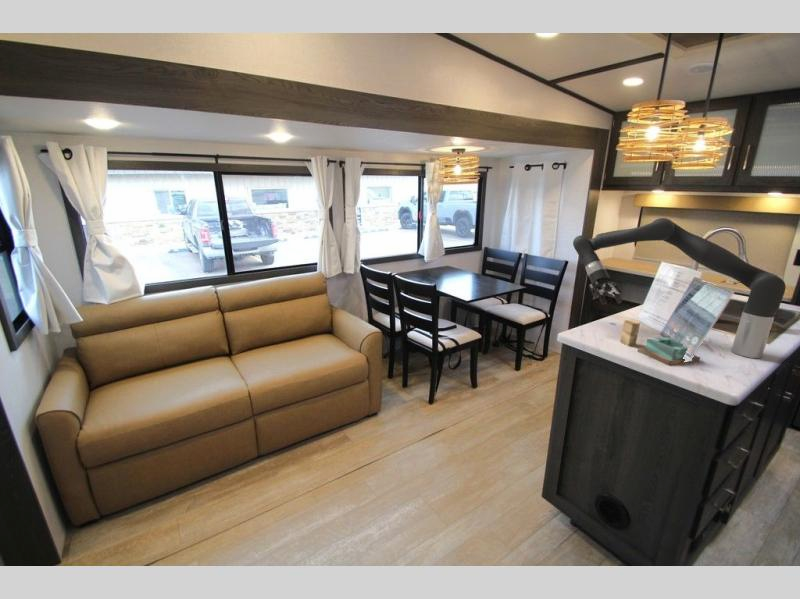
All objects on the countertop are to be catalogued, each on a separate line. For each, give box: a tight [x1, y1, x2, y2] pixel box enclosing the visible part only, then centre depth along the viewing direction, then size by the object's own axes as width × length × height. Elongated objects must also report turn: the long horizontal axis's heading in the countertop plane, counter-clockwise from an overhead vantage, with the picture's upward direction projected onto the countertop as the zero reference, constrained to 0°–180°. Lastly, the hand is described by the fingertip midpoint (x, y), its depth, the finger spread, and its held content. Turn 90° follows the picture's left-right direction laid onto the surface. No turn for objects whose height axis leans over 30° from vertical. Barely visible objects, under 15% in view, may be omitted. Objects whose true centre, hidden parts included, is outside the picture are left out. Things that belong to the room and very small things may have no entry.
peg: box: [619, 319, 641, 347], centre depth 156 cm, size 4×4×10 cm
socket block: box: [637, 336, 701, 366], centre depth 145 cm, size 16×13×6 cm
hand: (612, 303), depth 164 cm, fingers open, 8 cm apart
